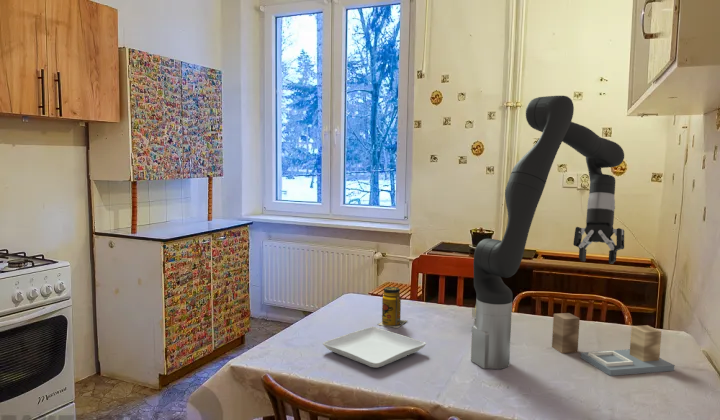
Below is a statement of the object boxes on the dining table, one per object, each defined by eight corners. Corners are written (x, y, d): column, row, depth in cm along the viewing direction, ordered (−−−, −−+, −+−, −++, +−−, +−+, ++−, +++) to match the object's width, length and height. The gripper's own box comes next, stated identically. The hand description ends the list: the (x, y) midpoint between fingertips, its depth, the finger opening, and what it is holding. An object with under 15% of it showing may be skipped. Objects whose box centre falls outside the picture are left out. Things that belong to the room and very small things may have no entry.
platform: (494, 320, 175) (495, 302, 174) (497, 338, 158) (498, 317, 157) (459, 318, 178) (460, 299, 177) (458, 335, 160) (458, 314, 159)
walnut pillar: (561, 353, 145) (563, 319, 144) (551, 347, 150) (553, 313, 149) (577, 352, 146) (579, 318, 145) (567, 346, 151) (569, 312, 150)
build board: (610, 375, 130) (610, 367, 130) (580, 357, 142) (581, 349, 142) (674, 370, 134) (674, 362, 134) (640, 353, 146) (641, 345, 145)
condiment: (377, 325, 168) (377, 289, 166) (387, 318, 175) (388, 283, 174) (397, 328, 164) (398, 292, 163) (407, 321, 172) (408, 286, 170)
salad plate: (320, 353, 143) (320, 341, 143) (372, 335, 158) (372, 324, 158) (376, 376, 128) (376, 363, 128) (427, 354, 144) (428, 342, 143)
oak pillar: (643, 361, 136) (645, 332, 135) (629, 354, 141) (631, 326, 140) (659, 360, 137) (661, 331, 136) (645, 353, 142) (647, 325, 141)
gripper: (572, 207, 159) (568, 259, 157) (619, 207, 148) (615, 263, 146) (583, 210, 164) (579, 261, 162) (630, 211, 153) (626, 265, 151)
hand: (596, 262), depth 154 cm, fingers open, 8 cm apart
